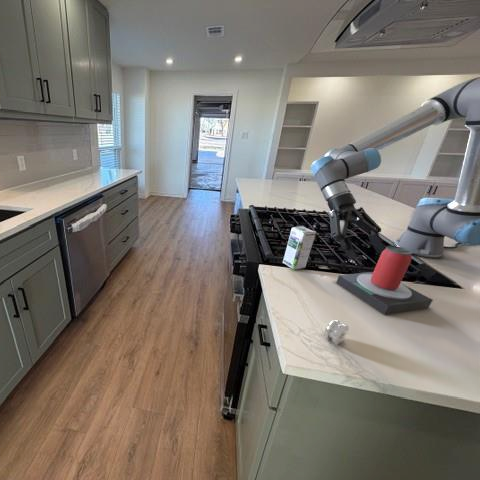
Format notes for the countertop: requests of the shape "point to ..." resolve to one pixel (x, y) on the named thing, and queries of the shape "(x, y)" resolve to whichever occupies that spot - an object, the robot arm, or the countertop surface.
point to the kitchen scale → (383, 294)
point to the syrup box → (299, 247)
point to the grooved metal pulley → (336, 331)
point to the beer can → (391, 267)
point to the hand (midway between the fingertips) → (368, 255)
